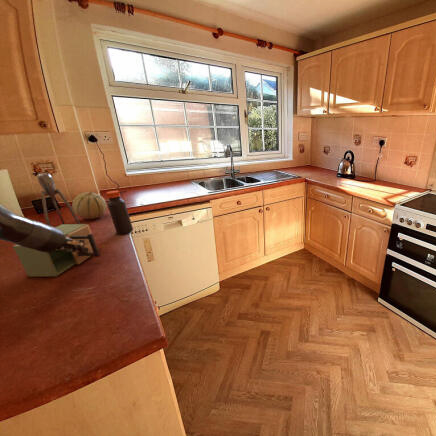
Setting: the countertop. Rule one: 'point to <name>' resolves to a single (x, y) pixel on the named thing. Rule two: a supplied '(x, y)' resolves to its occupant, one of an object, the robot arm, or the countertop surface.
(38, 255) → the cabinet
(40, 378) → the countertop surface
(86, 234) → the brown panel dark handle
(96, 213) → the cantaloupe
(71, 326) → the countertop surface
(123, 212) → the bottle
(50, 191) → the juicer
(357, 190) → the countertop surface
